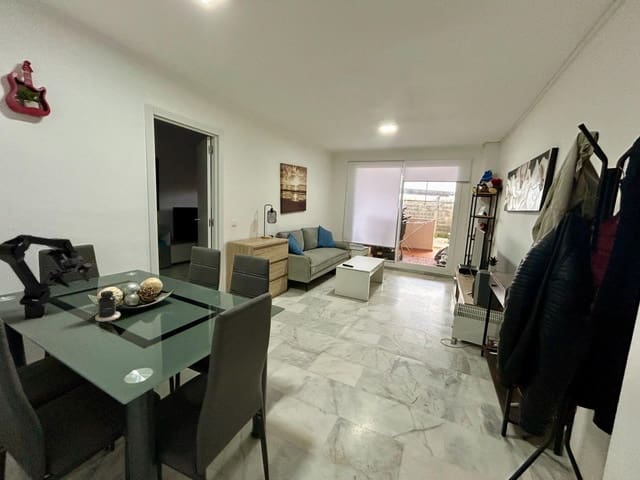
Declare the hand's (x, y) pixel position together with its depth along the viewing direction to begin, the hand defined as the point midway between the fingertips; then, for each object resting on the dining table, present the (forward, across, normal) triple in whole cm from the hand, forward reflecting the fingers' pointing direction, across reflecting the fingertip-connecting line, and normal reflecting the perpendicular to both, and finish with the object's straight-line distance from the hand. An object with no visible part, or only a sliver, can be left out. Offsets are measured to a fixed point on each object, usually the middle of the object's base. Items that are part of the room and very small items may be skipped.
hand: (79, 284), depth 141 cm
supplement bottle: (+24, -2, -6) cm, 24 cm away
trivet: (+24, -2, -6) cm, 25 cm away
